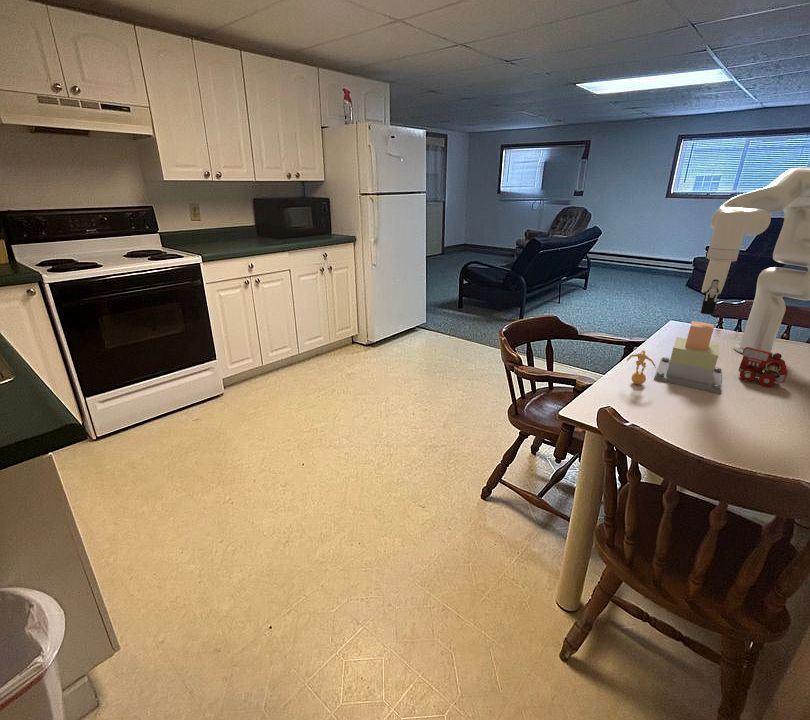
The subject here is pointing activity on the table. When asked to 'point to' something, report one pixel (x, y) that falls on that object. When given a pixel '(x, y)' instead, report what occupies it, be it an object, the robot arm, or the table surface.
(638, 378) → the figurine
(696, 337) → the terracotta brick
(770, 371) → the toy fire truck
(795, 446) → the table surface
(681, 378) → the grey yellow stepped block
